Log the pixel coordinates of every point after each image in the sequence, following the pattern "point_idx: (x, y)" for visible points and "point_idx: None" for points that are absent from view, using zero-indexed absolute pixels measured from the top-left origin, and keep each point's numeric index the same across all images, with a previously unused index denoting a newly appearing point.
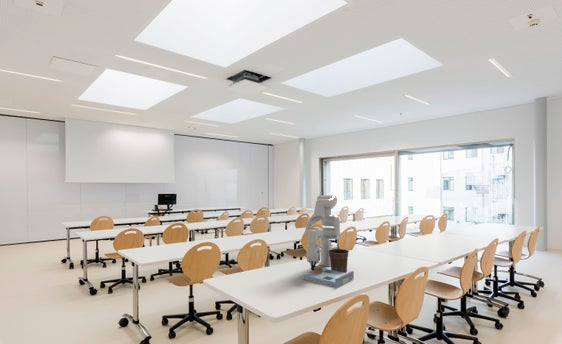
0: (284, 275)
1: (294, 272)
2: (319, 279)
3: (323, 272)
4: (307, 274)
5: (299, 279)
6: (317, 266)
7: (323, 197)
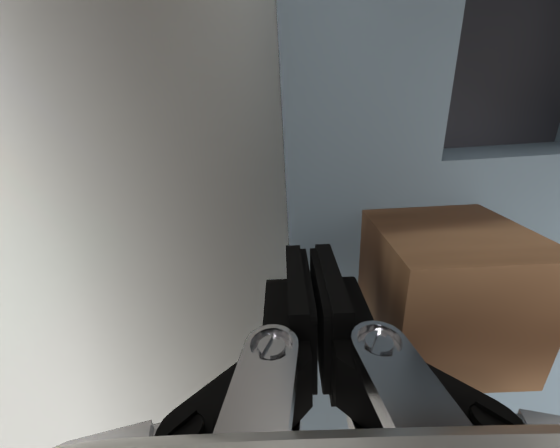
0: (54, 412)
1: (3, 278)
2: None
3: (492, 180)
4: (322, 400)
5: None
6: (456, 329)
7: None
